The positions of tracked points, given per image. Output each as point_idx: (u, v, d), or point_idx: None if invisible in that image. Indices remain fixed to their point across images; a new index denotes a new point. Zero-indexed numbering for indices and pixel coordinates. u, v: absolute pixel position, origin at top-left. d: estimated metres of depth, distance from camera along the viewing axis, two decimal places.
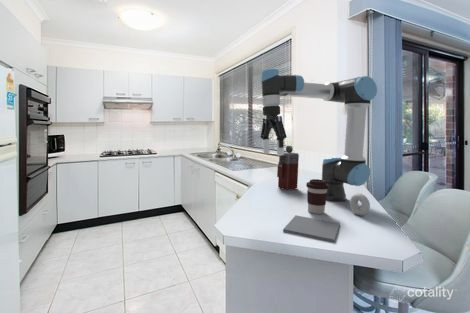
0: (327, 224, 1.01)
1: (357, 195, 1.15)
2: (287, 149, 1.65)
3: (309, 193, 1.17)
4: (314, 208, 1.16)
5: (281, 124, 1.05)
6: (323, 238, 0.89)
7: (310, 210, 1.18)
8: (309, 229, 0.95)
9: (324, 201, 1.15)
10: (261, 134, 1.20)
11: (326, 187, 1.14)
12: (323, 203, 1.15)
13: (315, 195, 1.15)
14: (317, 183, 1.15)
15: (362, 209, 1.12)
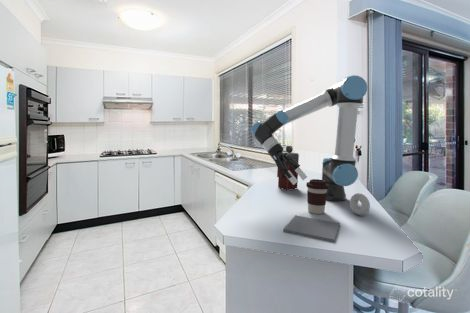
0: (327, 224, 1.01)
1: (357, 195, 1.15)
2: (287, 149, 1.65)
3: (309, 193, 1.17)
4: (314, 208, 1.16)
5: (277, 161, 1.19)
6: (323, 238, 0.89)
7: (310, 210, 1.18)
8: (309, 229, 0.95)
9: (324, 201, 1.15)
10: None
11: (326, 187, 1.14)
12: (323, 203, 1.15)
13: (315, 195, 1.15)
14: (317, 183, 1.15)
15: (362, 209, 1.12)
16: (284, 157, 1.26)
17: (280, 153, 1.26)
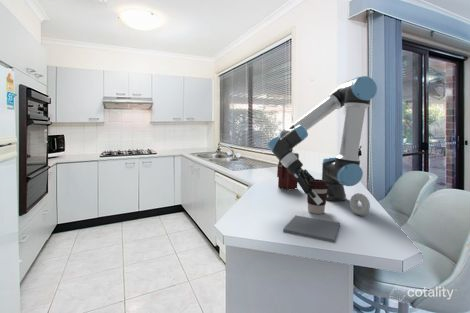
0: (327, 224, 1.01)
1: (357, 195, 1.15)
2: None
3: None
4: (314, 208, 1.16)
5: (300, 180, 1.15)
6: (323, 238, 0.89)
7: (310, 210, 1.18)
8: (309, 229, 0.95)
9: (324, 201, 1.15)
10: None
11: (326, 187, 1.14)
12: (323, 203, 1.15)
13: None
14: (317, 183, 1.14)
15: (362, 209, 1.12)
16: (304, 174, 1.22)
17: (299, 169, 1.22)
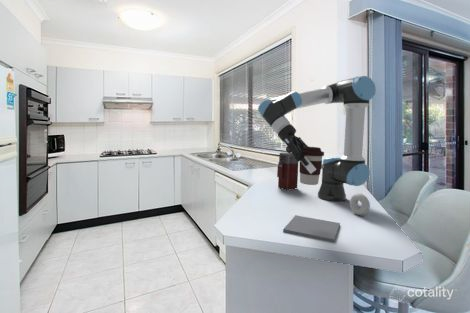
0: (327, 224, 1.01)
1: (357, 195, 1.15)
2: (287, 149, 1.65)
3: None
4: (306, 178, 1.02)
5: (291, 145, 1.01)
6: (323, 238, 0.89)
7: (302, 180, 1.03)
8: (309, 229, 0.95)
9: (318, 170, 1.01)
10: None
11: (321, 154, 1.00)
12: (317, 172, 1.01)
13: None
14: (310, 149, 1.00)
15: (362, 209, 1.12)
16: (297, 140, 1.07)
17: (292, 136, 1.08)
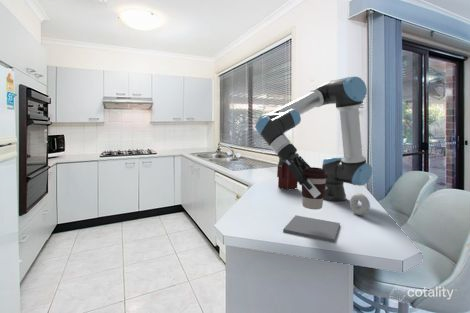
0: (327, 224, 1.01)
1: (357, 195, 1.15)
2: None
3: None
4: (310, 202, 0.94)
5: (293, 168, 0.94)
6: (323, 238, 0.89)
7: (305, 205, 0.96)
8: (309, 229, 0.95)
9: (322, 193, 0.94)
10: None
11: (325, 176, 0.93)
12: (321, 196, 0.94)
13: None
14: (314, 171, 0.93)
15: (362, 209, 1.12)
16: (298, 161, 1.00)
17: (293, 156, 1.00)
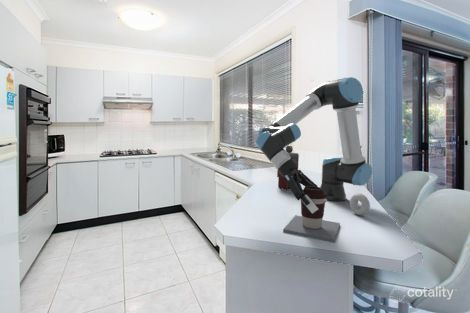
0: (327, 224, 1.01)
1: (357, 195, 1.15)
2: (287, 149, 1.65)
3: (303, 203, 0.96)
4: (309, 222, 0.95)
5: (291, 183, 0.94)
6: (323, 238, 0.89)
7: (304, 224, 0.97)
8: (309, 229, 0.95)
9: (321, 213, 0.95)
10: None
11: (323, 196, 0.94)
12: (320, 216, 0.95)
13: None
14: (312, 191, 0.94)
15: (362, 209, 1.12)
16: (298, 176, 1.01)
17: (293, 171, 1.01)
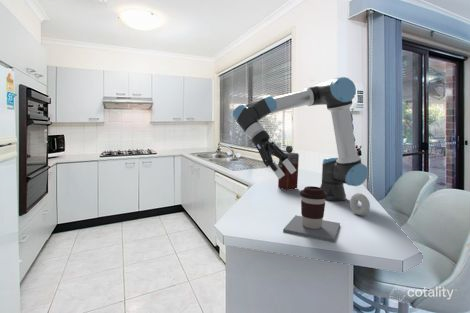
0: (327, 224, 1.01)
1: (357, 195, 1.15)
2: (287, 149, 1.65)
3: (303, 203, 0.96)
4: (309, 222, 0.95)
5: (262, 151, 1.01)
6: (323, 238, 0.89)
7: (305, 224, 0.97)
8: (309, 229, 0.95)
9: (321, 213, 0.95)
10: None
11: (324, 196, 0.93)
12: (320, 216, 0.95)
13: (310, 206, 0.94)
14: (313, 192, 0.94)
15: (362, 209, 1.12)
16: (270, 146, 1.08)
17: (266, 142, 1.08)
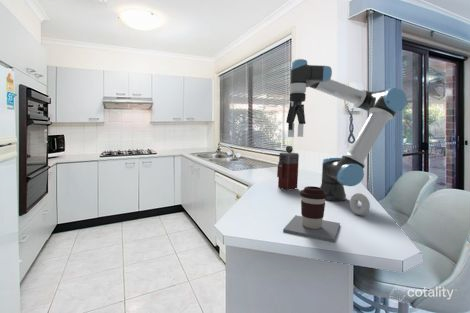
0: (327, 224, 1.01)
1: (357, 195, 1.15)
2: (287, 149, 1.65)
3: (303, 203, 0.96)
4: (309, 222, 0.95)
5: (291, 109, 1.18)
6: (323, 238, 0.89)
7: (305, 224, 0.97)
8: (309, 229, 0.95)
9: (321, 213, 0.95)
10: None
11: (324, 196, 0.94)
12: (320, 216, 0.95)
13: (310, 206, 0.94)
14: (313, 191, 0.94)
15: (362, 209, 1.12)
16: (299, 108, 1.25)
17: (299, 103, 1.24)
